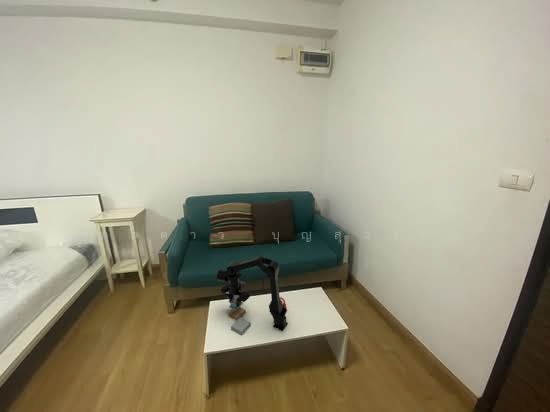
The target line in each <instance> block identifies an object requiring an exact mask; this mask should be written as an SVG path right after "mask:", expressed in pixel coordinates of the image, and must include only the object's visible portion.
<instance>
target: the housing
mask: <svg viewBox="0 0 550 412" xmlns="http://www.w3.org/2000/svg"><path fill="white" fill-rule="evenodd" d="M237 298H238V295H237V296H236V295H233V298H231V299H230V300H229V299H228V303H229V304H230V305H229V309H230V310H231V309H233V310H235V311H236V310H237V309H238V308H239V307H241V306H242V305H243V304H244V302H241V305H240V306H238V304H237V301H236V299H237Z"/></svg>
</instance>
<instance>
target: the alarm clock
mask: <svg viewBox="0 0 550 412" xmlns="http://www.w3.org/2000/svg"><path fill="white" fill-rule="evenodd" d="M270 298H271V300H270V302H271V301H272V297H270ZM280 300H281V301H282V304H283V306H284V307H285V308H286V309H287V308H288V307H287V304H286V300H285V299H284V297H283V296H280ZM287 310H288V309H287Z"/></svg>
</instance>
